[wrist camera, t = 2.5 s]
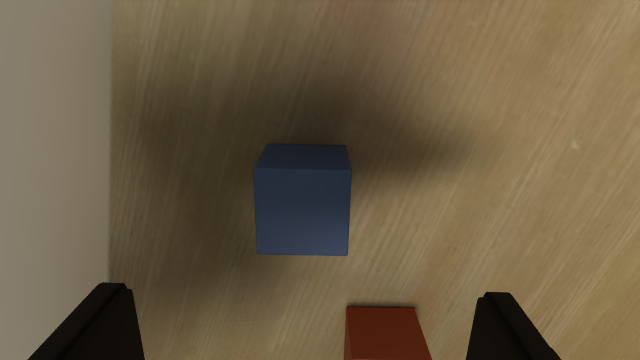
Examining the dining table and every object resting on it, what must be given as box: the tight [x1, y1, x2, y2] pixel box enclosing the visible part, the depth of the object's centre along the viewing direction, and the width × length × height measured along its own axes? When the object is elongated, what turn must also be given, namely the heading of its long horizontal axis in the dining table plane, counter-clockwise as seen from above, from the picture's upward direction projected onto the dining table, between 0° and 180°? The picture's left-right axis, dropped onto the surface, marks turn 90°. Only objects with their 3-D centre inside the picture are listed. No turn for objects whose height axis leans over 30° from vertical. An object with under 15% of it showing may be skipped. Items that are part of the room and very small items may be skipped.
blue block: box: [253, 144, 352, 256], centre depth 20 cm, size 4×4×4 cm
